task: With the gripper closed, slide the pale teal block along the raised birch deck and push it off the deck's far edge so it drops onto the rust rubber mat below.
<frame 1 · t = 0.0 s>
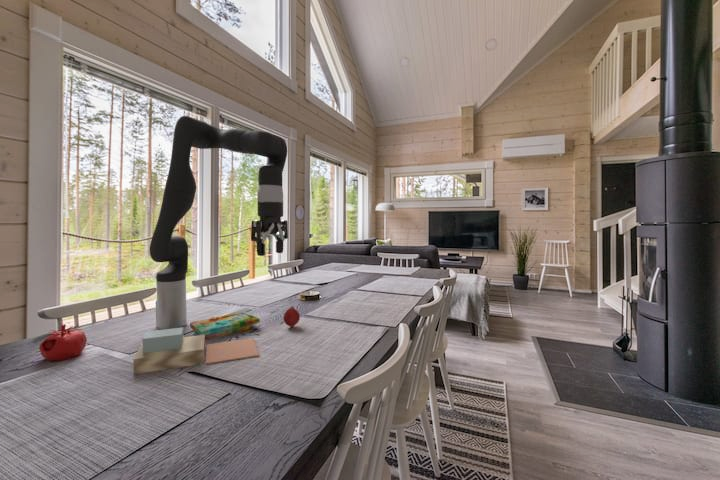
hand: (270, 254, 97), 29 cm above the table, tool pointing down, fingers open, 8 cm apart
puzzle game: (225, 331, 113), on the table
pale teal block: (164, 339, 88), point 6 cm above the table, touching birch deck
birch deck: (172, 359, 89), on the table
rust mat: (231, 350, 96), on the table
red tomato: (64, 356, 90), on the table
onion: (291, 327, 117), on the table
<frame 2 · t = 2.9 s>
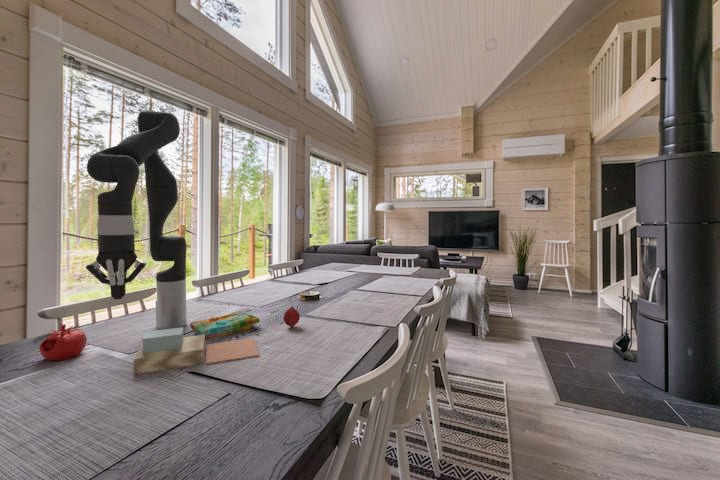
hand: (118, 298, 83), 19 cm above the table, tool pointing down, fingers closed
nothing on the table moved.
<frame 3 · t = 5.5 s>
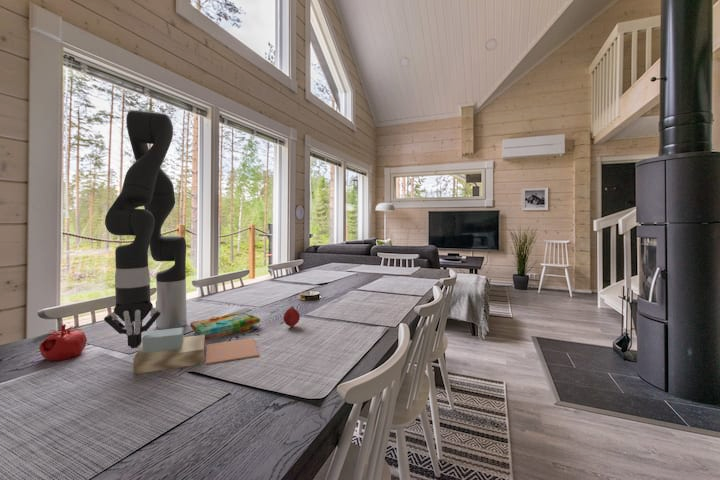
hand: (135, 347, 85), 5 cm above the table, tool pointing down, fingers closed
pale teal block: (164, 339, 88), point 6 cm above the table, touching gripper
everything else where it was.
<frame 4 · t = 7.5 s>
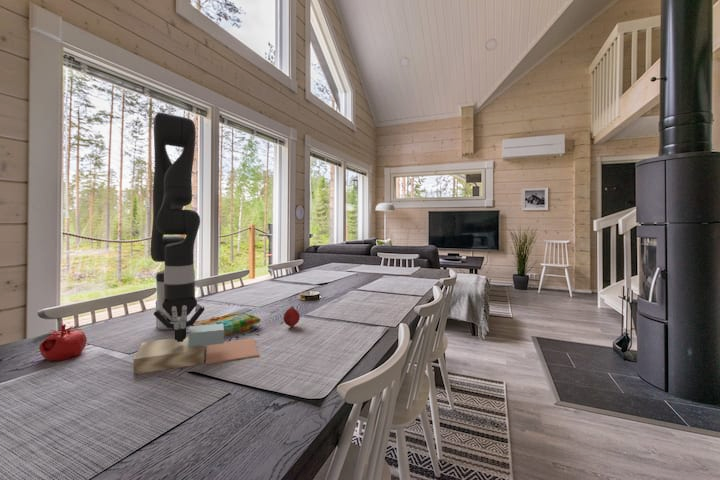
hand: (180, 340, 90), 5 cm above the table, tool pointing down, fingers closed
pale teal block: (206, 334, 92), point 6 cm above the table, touching birch deck, gripper
everything else where it was.
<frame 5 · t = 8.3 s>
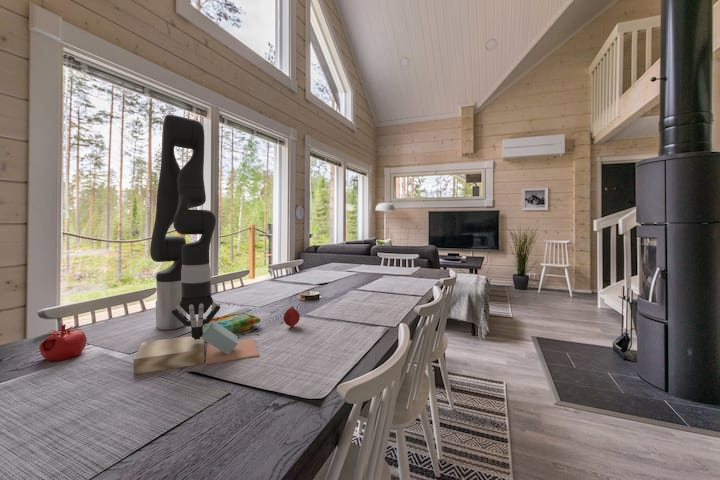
hand: (197, 338, 91), 5 cm above the table, tool pointing down, fingers closed
pale teal block: (220, 337, 93), point 5 cm above the table, tilted 41°, touching gripper
everything else where it was.
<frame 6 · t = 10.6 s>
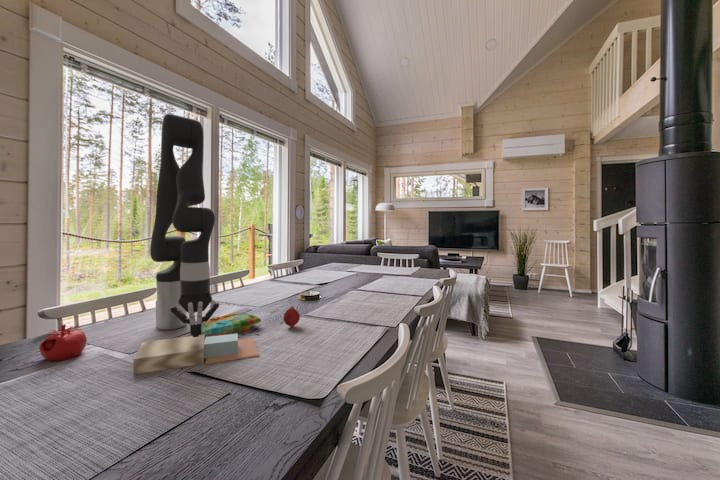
hand: (196, 336, 91), 6 cm above the table, tool pointing down, fingers closed
pale teal block: (221, 345, 94), point 2 cm above the table, touching rust mat
everything else where it was.
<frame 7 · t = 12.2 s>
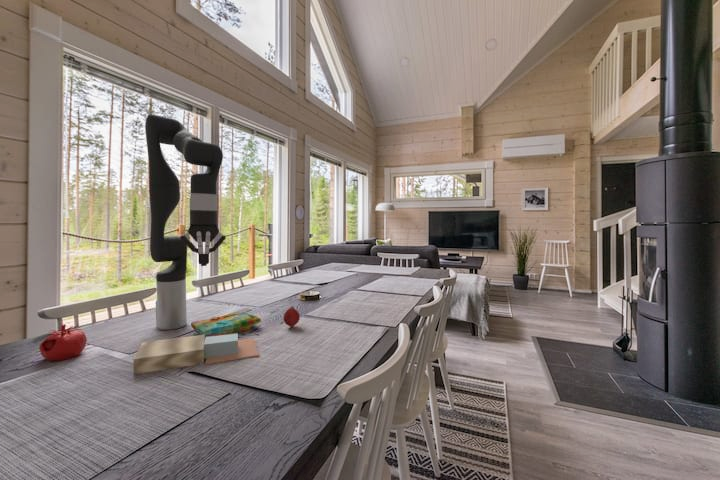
hand: (204, 265, 97), 25 cm above the table, tool pointing down, fingers closed
nothing on the table moved.
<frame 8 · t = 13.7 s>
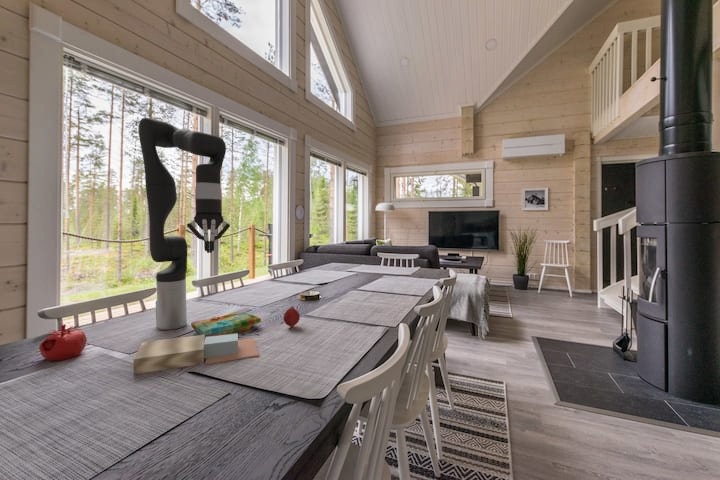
hand: (209, 252, 101), 29 cm above the table, tool pointing down, fingers closed
nothing on the table moved.
at the end: pale teal block 2.9 cm from the rust mat (horizontally); pale teal block point 2.4 cm above the table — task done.
